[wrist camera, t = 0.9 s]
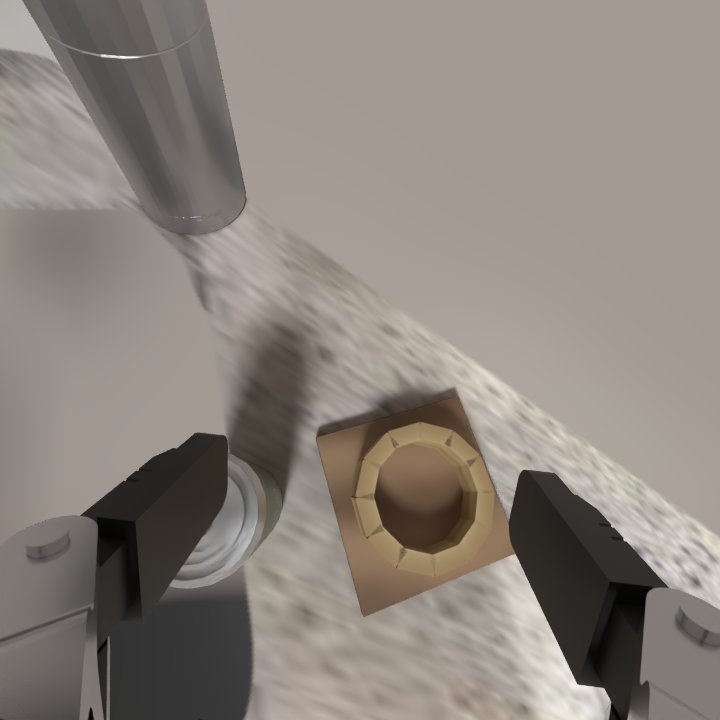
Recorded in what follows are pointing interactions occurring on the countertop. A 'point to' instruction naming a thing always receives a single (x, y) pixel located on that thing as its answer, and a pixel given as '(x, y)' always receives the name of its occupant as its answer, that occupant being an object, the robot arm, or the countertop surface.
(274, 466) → the countertop surface
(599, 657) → the robot arm
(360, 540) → the socket board
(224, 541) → the beer can
